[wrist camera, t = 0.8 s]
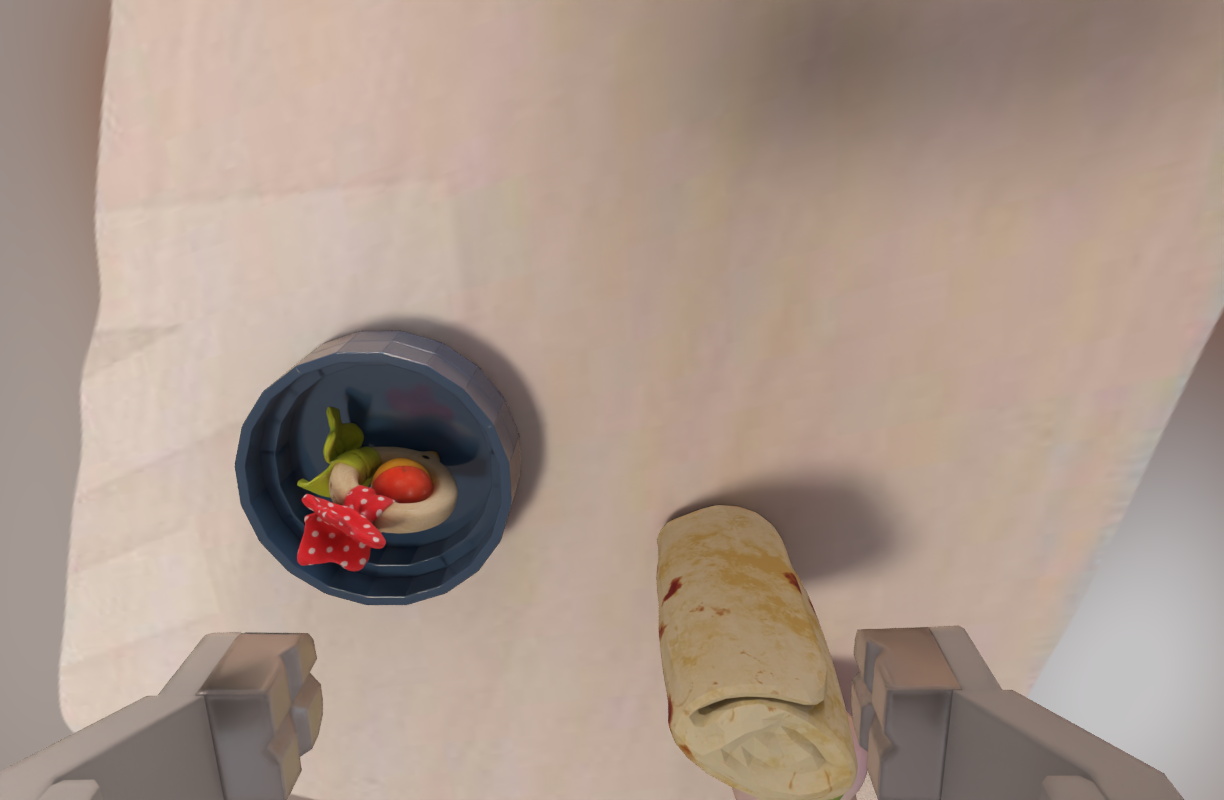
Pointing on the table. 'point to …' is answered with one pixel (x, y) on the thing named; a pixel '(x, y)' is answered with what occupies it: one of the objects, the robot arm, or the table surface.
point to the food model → (748, 661)
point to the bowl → (389, 417)
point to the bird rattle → (370, 497)
